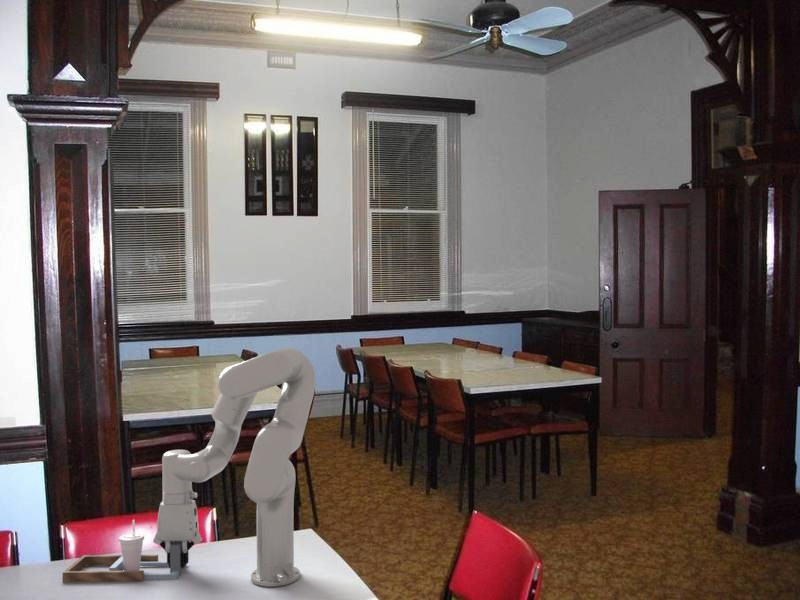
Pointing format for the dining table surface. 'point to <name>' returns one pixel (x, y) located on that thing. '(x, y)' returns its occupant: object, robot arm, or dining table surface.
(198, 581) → the dining table surface
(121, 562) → the sled
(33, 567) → the dining table surface
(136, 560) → the smoothie
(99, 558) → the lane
